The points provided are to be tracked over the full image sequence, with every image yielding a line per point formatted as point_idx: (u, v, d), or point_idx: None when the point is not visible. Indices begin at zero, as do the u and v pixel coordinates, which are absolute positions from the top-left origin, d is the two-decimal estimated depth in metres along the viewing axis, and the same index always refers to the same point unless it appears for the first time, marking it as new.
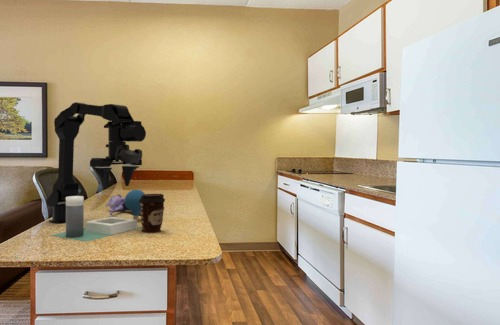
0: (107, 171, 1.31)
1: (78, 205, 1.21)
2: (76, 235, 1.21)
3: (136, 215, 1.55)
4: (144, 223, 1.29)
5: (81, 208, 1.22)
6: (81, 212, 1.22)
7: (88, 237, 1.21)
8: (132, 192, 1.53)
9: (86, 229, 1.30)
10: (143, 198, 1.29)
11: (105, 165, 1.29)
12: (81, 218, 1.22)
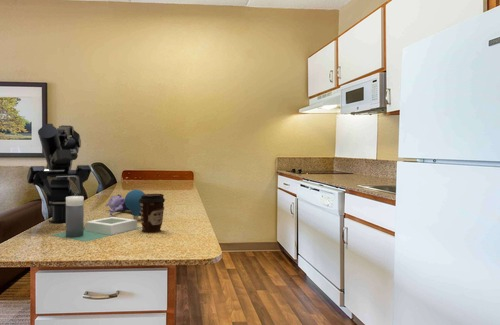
0: (43, 177, 1.26)
1: (78, 205, 1.21)
2: (76, 235, 1.21)
3: (136, 215, 1.55)
4: (144, 223, 1.29)
5: (81, 208, 1.22)
6: (81, 212, 1.22)
7: (88, 237, 1.21)
8: (132, 192, 1.53)
9: (86, 229, 1.30)
10: (143, 198, 1.29)
11: (35, 169, 1.25)
12: (81, 218, 1.22)
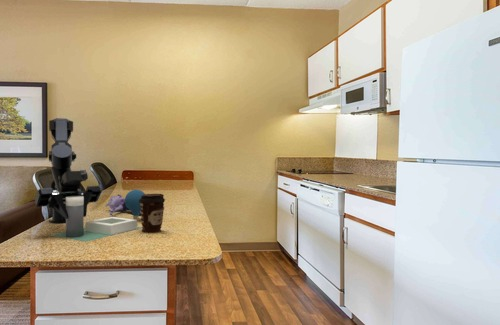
0: (59, 199, 1.21)
1: (78, 205, 1.21)
2: (76, 235, 1.21)
3: (136, 215, 1.55)
4: (144, 223, 1.29)
5: (81, 208, 1.22)
6: (81, 212, 1.22)
7: (88, 237, 1.21)
8: (132, 192, 1.53)
9: (86, 229, 1.30)
10: (143, 198, 1.29)
11: (44, 192, 1.19)
12: (81, 218, 1.22)
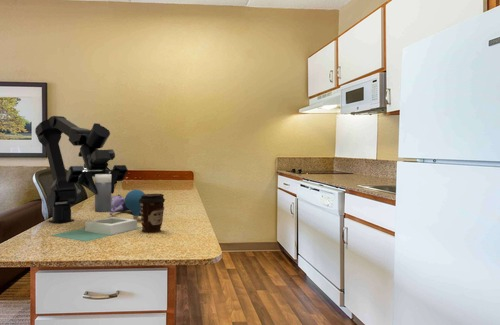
0: (89, 176, 1.28)
1: (107, 182, 1.28)
2: (105, 210, 1.28)
3: (136, 215, 1.55)
4: (144, 223, 1.29)
5: (109, 185, 1.29)
6: (109, 189, 1.29)
7: (88, 237, 1.21)
8: (132, 192, 1.53)
9: (86, 229, 1.30)
10: (143, 198, 1.29)
11: (75, 169, 1.26)
12: (109, 194, 1.29)
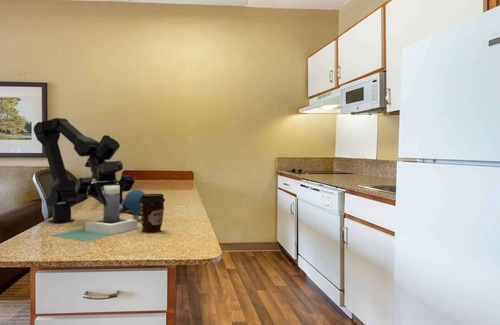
0: (97, 187, 1.30)
1: (115, 193, 1.31)
2: (113, 221, 1.31)
3: (136, 215, 1.55)
4: (144, 223, 1.29)
5: (118, 196, 1.32)
6: (118, 200, 1.32)
7: (88, 237, 1.21)
8: (132, 192, 1.53)
9: (86, 229, 1.30)
10: (143, 198, 1.29)
11: (84, 181, 1.28)
12: (118, 205, 1.32)
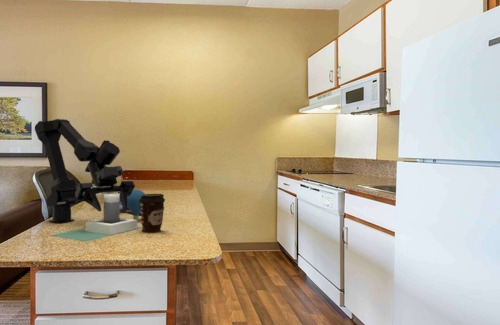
0: (92, 193, 1.29)
1: (115, 201, 1.31)
2: None
3: (136, 215, 1.55)
4: (144, 223, 1.29)
5: (118, 204, 1.32)
6: (118, 208, 1.32)
7: (88, 237, 1.21)
8: (132, 192, 1.53)
9: (86, 229, 1.30)
10: (143, 198, 1.29)
11: (84, 186, 1.28)
12: (118, 213, 1.32)
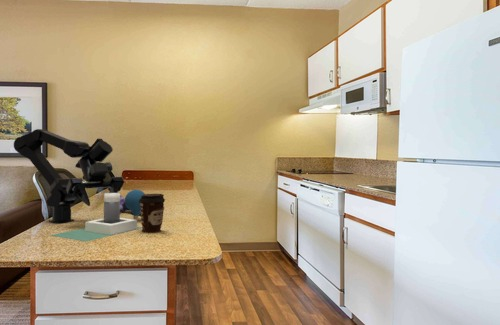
0: (82, 188, 1.35)
1: (116, 201, 1.31)
2: None
3: (136, 215, 1.55)
4: (144, 223, 1.29)
5: (118, 204, 1.32)
6: (118, 208, 1.32)
7: (88, 237, 1.21)
8: (132, 192, 1.53)
9: (86, 229, 1.30)
10: (143, 198, 1.29)
11: (75, 181, 1.34)
12: (118, 213, 1.32)
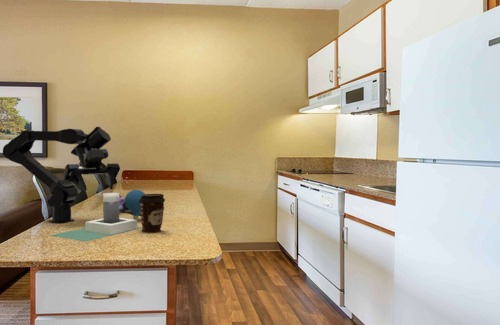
0: (78, 174, 1.37)
1: (115, 201, 1.31)
2: None
3: (136, 215, 1.55)
4: (144, 223, 1.29)
5: (117, 204, 1.32)
6: (117, 207, 1.32)
7: (88, 237, 1.21)
8: (132, 192, 1.53)
9: (86, 229, 1.30)
10: (143, 198, 1.29)
11: (71, 167, 1.36)
12: (118, 213, 1.32)
